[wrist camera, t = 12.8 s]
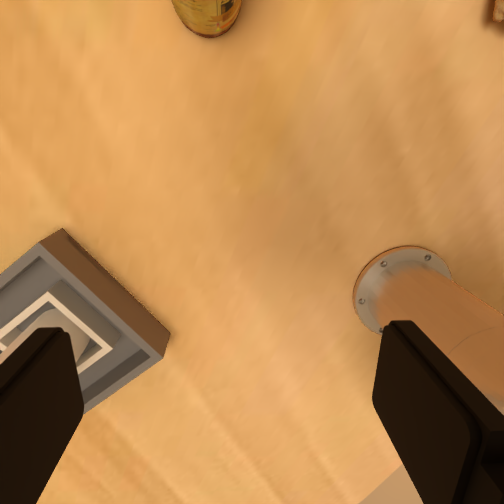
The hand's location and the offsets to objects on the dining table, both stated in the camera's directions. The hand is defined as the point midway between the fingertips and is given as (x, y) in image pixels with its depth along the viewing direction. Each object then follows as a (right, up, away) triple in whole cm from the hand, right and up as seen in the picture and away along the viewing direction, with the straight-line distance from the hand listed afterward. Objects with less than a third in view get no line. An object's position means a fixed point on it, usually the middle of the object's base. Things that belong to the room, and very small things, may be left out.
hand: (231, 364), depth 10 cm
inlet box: (-23, -6, +32) cm, 39 cm away
